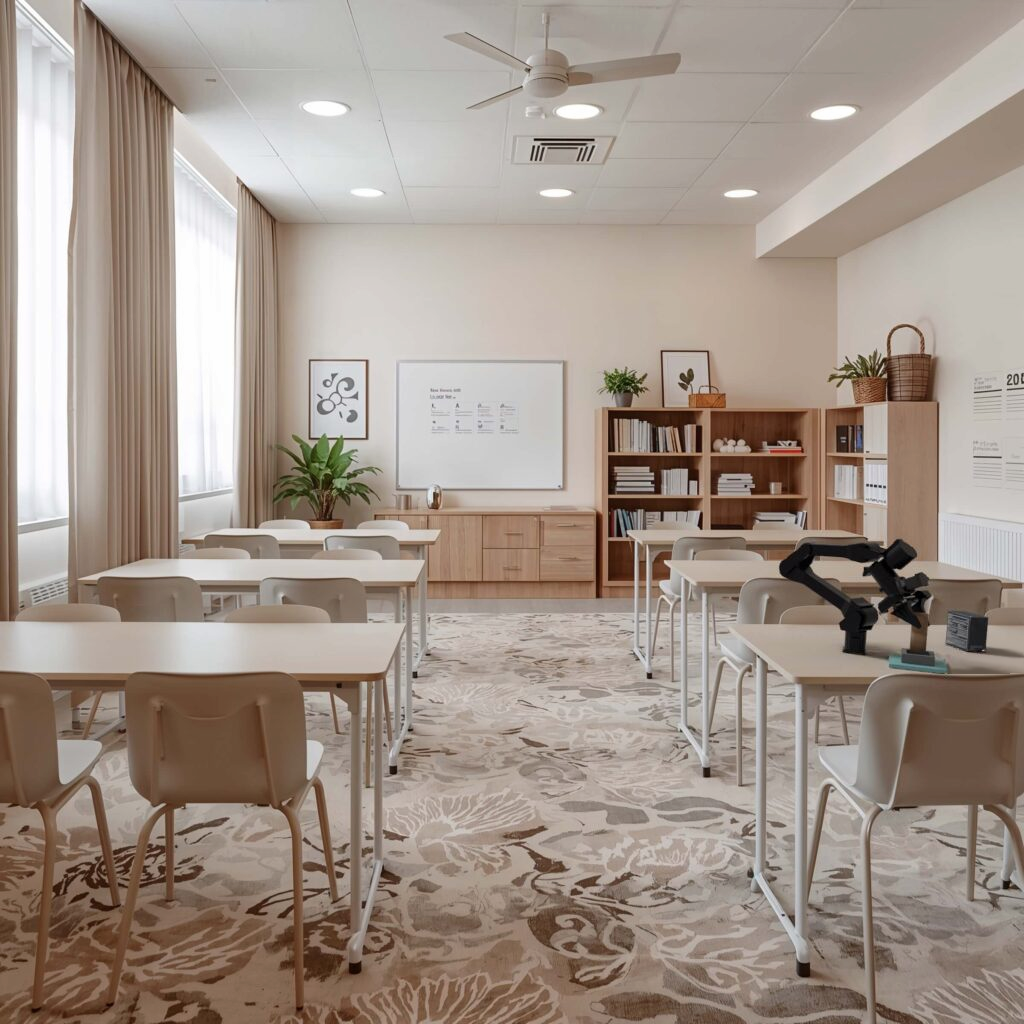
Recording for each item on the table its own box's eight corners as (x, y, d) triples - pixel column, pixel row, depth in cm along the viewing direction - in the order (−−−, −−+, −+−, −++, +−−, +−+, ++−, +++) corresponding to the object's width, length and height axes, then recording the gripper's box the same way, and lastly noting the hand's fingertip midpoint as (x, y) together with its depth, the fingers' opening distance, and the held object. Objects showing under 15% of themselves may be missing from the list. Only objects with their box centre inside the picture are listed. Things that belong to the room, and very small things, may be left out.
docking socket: (888, 657, 250) (889, 644, 250) (944, 663, 245) (945, 650, 244) (888, 667, 237) (889, 654, 237) (947, 674, 232) (948, 661, 231)
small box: (987, 652, 261) (990, 616, 260) (967, 652, 260) (970, 616, 259) (963, 644, 272) (966, 610, 271) (944, 644, 271) (946, 610, 270)
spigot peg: (915, 648, 243) (918, 611, 243) (929, 651, 240) (932, 614, 239) (906, 649, 241) (909, 612, 241) (919, 652, 238) (922, 615, 237)
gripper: (891, 564, 236) (929, 612, 228) (927, 560, 248) (964, 606, 240) (862, 589, 243) (898, 637, 235) (897, 584, 255) (933, 630, 247)
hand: (924, 627), depth 239 cm, fingers closed on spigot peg, 4 cm apart
